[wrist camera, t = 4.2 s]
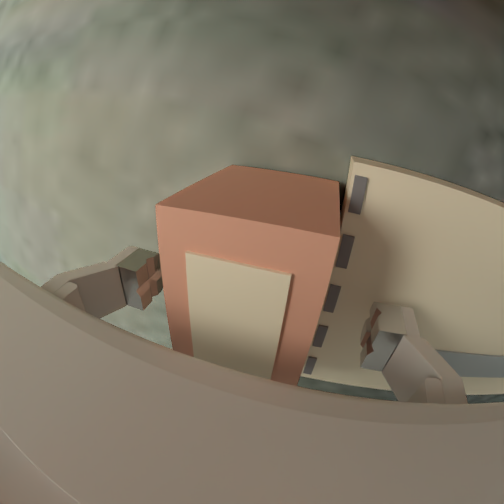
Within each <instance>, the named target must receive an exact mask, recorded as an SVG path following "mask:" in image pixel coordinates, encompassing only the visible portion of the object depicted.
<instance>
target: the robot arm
mask: <svg viewBox="0 0 504 504" xmlns="http://www.w3.org/2000/svg"><path fill="white" fill-rule="evenodd" d="M162 289H163V282H162V273H161V264H160V255H159V253H156V252H152V251H149V250H145V249H142V248H138V247H134V246H128V247H127V248H126V249H124V250H123V251H122V252H120V253H119V254H117V255H116V256H115V257H113V258H112V259H111V260H109V261H108V262H107V263H106V262H102V263H98V264H94V265H90V266H87V267H83V268H79V269H75V270H72V271H68V272H64V273H61V274H57V275H56V276H55V277H53V278H52V279H51V280H49V281H48V282H47V283H45V284H44V285H43V286H41V287H39V286H38V285H36V284H34V283H33V282H31V281H29V280H28V279H26V278H25V277H23V276H21V275H20V274H18V273H17V272H15V271H14V270H12V269H11V268H9V267H8V266H6V265H5V264H4V263H2V262H0V504H504V402H495V403H475V404H468V402H467V397H466V393H465V388H464V384H463V380H462V378H461V377H460V376H459V375H458V374H457V373H456V372H455V370H454V369H453V368H452V367H451V366H450V365H449V364H448V363H447V362H446V361H445V360H444V359H443V357H442V356H441V355H440V354H439V353H438V352H437V351H436V350H435V349H434V348H433V347H432V346H431V345H430V344H429V343H428V342H427V341H426V340H425V339H424V338H421V337H420V333H419V329H418V325H417V322H416V318H415V314H414V311H413V309H412V308H411V307H405V306H397V305H391V304H385V303H379V302H373V304H372V306H371V308H370V310H369V311H370V317H369V318H368V319H366V320H365V323H364V325H363V328H362V332H361V338H360V345H361V346H362V348H363V349H362V351H361V353H360V368H365V369H370V370H376V371H382V374H383V376H384V377H385V379H386V381H387V383H388V384H389V386H390V388H391V390H392V391H393V393H394V395H395V397H396V398H397V400H398V401H389V400H380V399H371V398H363V397H356V396H349V395H342V394H336V393H330V392H324V391H319V390H314V389H309V388H304V387H299V386H295V385H290V384H286V383H281V382H277V381H273V380H269V379H265V378H261V377H257V376H254V375H250V374H246V373H243V372H239V371H236V370H232V369H229V368H226V367H222V366H219V365H216V364H213V363H210V362H207V361H204V360H201V359H198V358H195V357H192V356H189V355H186V354H183V353H180V352H178V351H175V350H172V349H170V348H167V347H164V346H162V345H159V344H157V343H154V342H151V341H149V340H147V339H144V338H142V337H139V336H137V335H135V334H132V333H130V332H128V331H125V330H123V329H121V328H119V327H116V326H114V325H112V324H110V323H108V322H105V321H103V320H101V319H99V318H102V317H104V316H106V315H108V314H110V313H112V312H114V311H116V310H119V309H121V308H123V307H125V306H127V305H129V306H132V307H135V308H137V309H140V310H144V309H145V308H146V307H147V306H148V305H149V304H150V303H151V302H152V297H153V296H155V295H158V294H159V293H160V292H161V291H162Z"/></svg>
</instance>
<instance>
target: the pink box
mask: <svg viewBox="0 0 504 504" xmlns="http://www.w3.org/2000/svg"><path fill="white" fill-rule="evenodd" d="M156 220H157V233H158V245H159V255H160V264H161V273H162V282H163V289H164V297H165V304H166V311H167V317H168V324H169V330H170V336H171V341H172V347H173V350H175V351H178V352H180V353H183V354H186V355H189V356H192V357H195V358H198V359H201V360H204V361H207V362H210V363H213V364H216V365H219V366H222V367H226V368H229V369H232V370H236V371H239V372H243V373H246V374H250V375H254V376H257V377H261V378H265V379H269V380H273V381H277V382H281V383H286V384H290V385H295V386H297V384H298V381H299V378H300V375H301V373H302V370H303V367H304V364H305V361H306V358H307V355H308V352H309V349H310V346H311V343H312V340H313V336H314V333H315V330H316V327H317V323H318V320H319V317H320V313H321V310H322V306H323V303H324V299H325V296H326V292H327V288H328V285H329V281H330V277H331V273H332V269H333V265H334V261H335V257H336V253H337V249H338V245H339V241H340V199H339V181H333V180H328V179H323V178H318V177H312V176H306V175H301V174H295V173H288V172H282V171H275V170H268V169H261V168H254V167H246V166H237V165H231V166H229V167H227V168H225V169H223V170H220V171H218V172H216V173H214V174H212V175H210V176H208V177H206V178H204V179H202V180H200V181H198V182H197V183H195V184H193V185H191V186H189V187H187V188H185V189H183V190H181V191H179V192H177V193H176V194H174V195H172V196H170V197H168V198H166V199H165V200H163V201H161V202H159V203H157V204H156Z"/></svg>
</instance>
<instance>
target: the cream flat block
mask: <svg viewBox="0 0 504 504" xmlns="http://www.w3.org/2000/svg"><path fill="white" fill-rule="evenodd" d="M373 302H379V303H385V304H391V305H397V306H405V307H411V308H412V309H413V311H414V314H415V318H416V322H417V325H418V329H419V333H420V337H421V338H424V339H425V340H426V341H427V342H428V343H429V344H430V345H431V346H432V347H433V348H434V349H435V350H436V351H437V352H438V353H439V354H440V355H441V356H442V357H443V359H444V360H445V361H446V362H447V363H448V364H449V365H450V366H451V367H452V368H453V369H454V370H455V372H456V373H457V374H458V375H459V376H460V377H461V378H462V380H463V384H464V388H465V393H466V395H489V394H504V203H503V202H500V201H498V200H496V199H493V198H491V197H488V196H486V195H483V194H481V193H478V192H475V191H473V190H470V189H467V188H465V187H462V186H459V185H456V184H453V183H450V182H447V181H444V180H441V179H438V178H435V177H432V176H429V175H425V174H422V173H419V172H415V171H412V170H408V169H404V168H401V167H397V166H393V165H389V164H385V163H381V162H377V161H373V160H368V159H364V158H359V157H355V156H351V160H350V166H349V172H348V178H347V184H346V189H345V195H344V200H343V205H342V210H341V215H340V241H339V245H338V249H337V253H336V257H335V261H334V265H333V269H332V273H331V277H330V281H329V285H328V288H327V292H326V296H325V299H324V303H323V306H322V310H321V313H320V317H319V320H318V323H317V327H316V330H315V333H314V336H313V340H312V343H311V346H310V349H309V352H308V355H307V358H306V361H305V364H304V367H303V370H302V373H301V375H300V376H303V377H308V378H313V379H318V380H323V381H328V382H334V383H340V384H346V385H352V386H359V387H366V388H373V389H382V390H390V391H392V390H391V388H390V386H389V384H388V383H387V381H386V379H385V377H384V376H383V374H382V371H376V370H370V369H365V368H360V353H361V351H362V349H363V348H362V346H361V345H360V338H361V332H362V328H363V325H364V323H365V320H366V319H368V318H369V317H370V311H369V310H370V308H371V306H372V304H373Z"/></svg>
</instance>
